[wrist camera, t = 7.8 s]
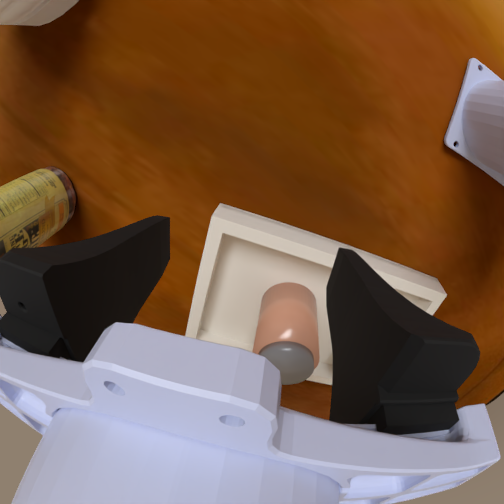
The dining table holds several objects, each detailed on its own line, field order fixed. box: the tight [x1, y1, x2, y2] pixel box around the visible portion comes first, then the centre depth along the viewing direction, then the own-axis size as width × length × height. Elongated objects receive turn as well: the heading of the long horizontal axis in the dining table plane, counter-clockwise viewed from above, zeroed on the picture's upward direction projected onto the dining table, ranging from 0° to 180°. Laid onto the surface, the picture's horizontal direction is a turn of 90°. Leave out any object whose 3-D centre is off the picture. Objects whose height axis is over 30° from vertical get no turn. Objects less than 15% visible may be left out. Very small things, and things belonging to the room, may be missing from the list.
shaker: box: [253, 282, 320, 385], centre depth 22 cm, size 5×5×7 cm
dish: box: [185, 203, 447, 385], centre depth 25 cm, size 20×14×2 cm
